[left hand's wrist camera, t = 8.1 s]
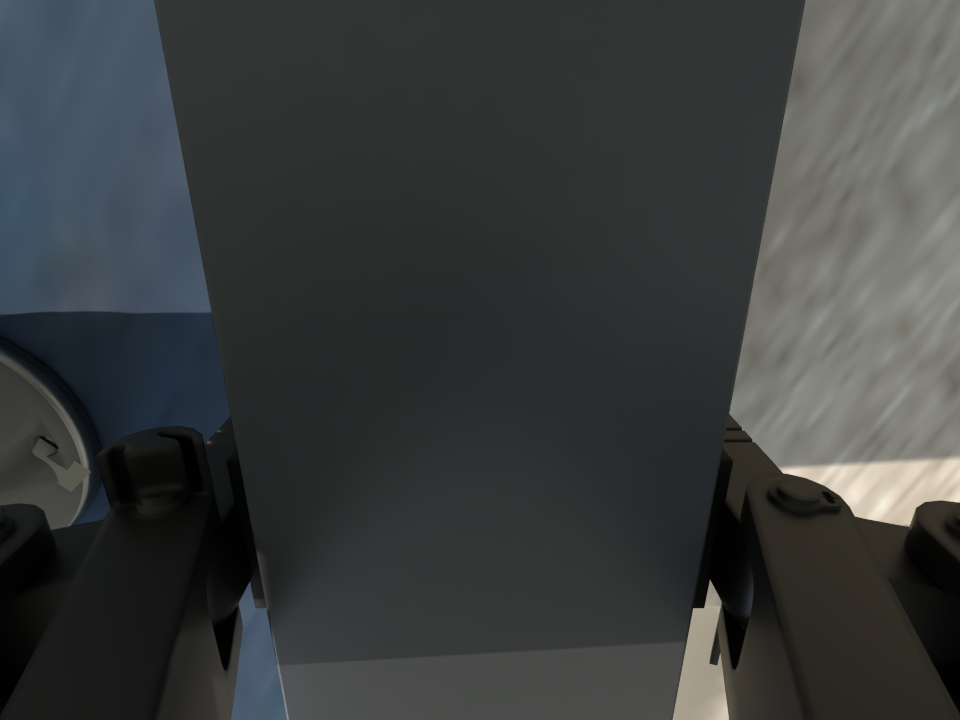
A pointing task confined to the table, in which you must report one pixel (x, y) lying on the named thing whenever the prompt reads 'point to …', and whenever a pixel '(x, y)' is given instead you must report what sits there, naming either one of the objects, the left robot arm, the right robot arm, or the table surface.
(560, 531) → the post
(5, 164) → the table surface
